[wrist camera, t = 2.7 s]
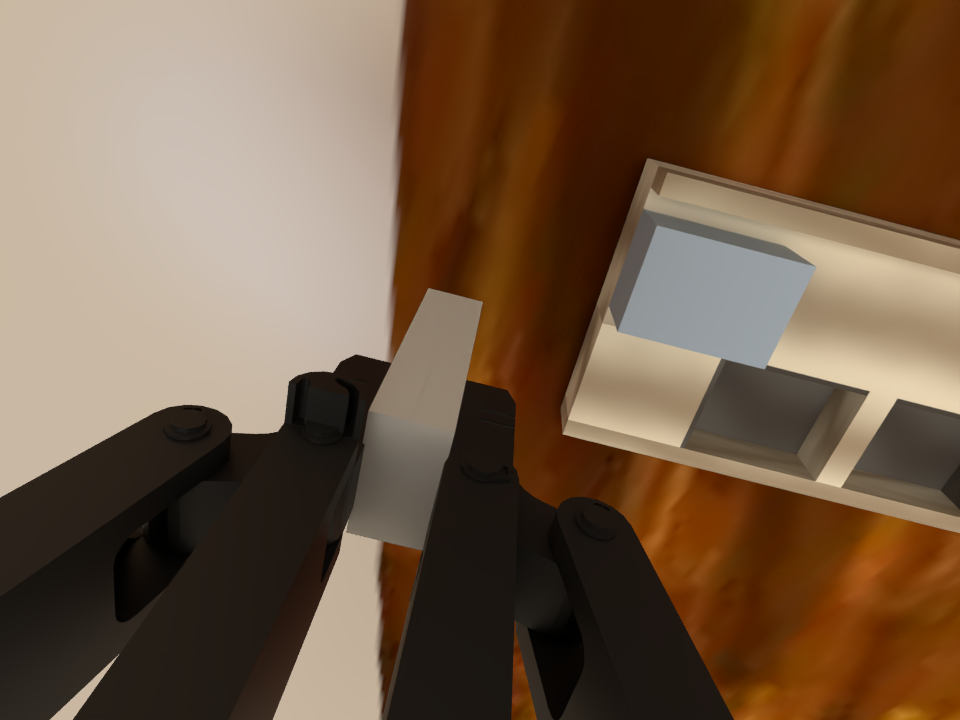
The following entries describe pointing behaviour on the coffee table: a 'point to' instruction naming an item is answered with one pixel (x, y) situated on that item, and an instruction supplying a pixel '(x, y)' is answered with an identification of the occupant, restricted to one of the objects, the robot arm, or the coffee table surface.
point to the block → (707, 289)
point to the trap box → (796, 361)
